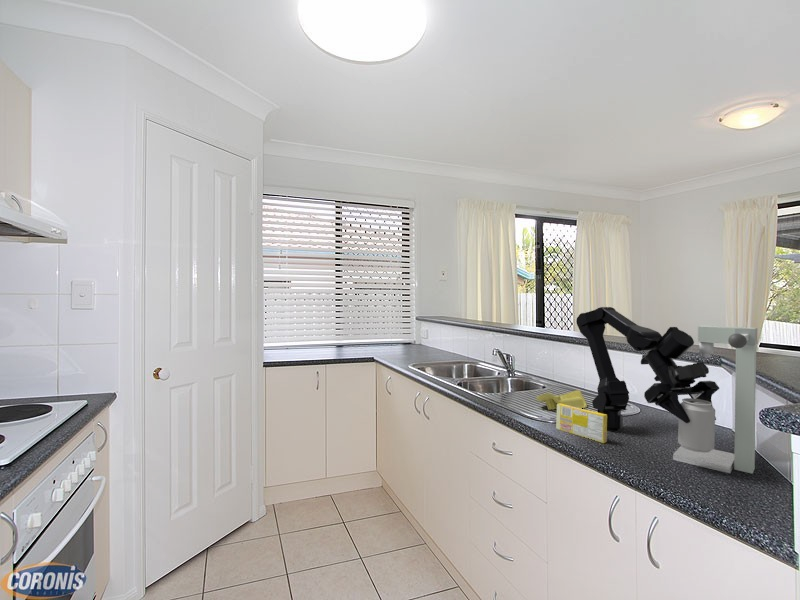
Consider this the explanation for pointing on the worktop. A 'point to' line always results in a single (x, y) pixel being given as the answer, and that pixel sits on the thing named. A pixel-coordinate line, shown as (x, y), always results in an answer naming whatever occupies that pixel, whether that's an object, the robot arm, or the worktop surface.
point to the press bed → (706, 459)
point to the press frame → (738, 385)
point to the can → (697, 426)
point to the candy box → (582, 422)
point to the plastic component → (563, 399)
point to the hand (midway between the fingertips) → (701, 421)
